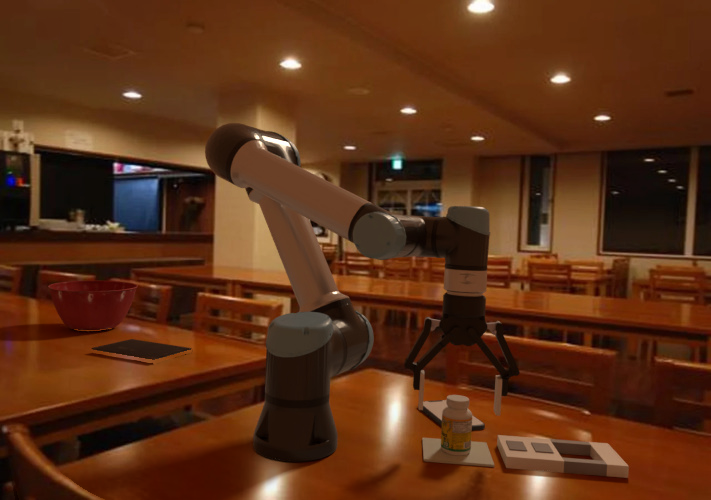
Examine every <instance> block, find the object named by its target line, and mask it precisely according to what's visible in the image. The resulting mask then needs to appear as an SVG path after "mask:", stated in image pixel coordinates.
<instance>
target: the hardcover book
mask: <svg viewBox="0 0 711 500" xmlns="http://www.w3.org/2000/svg"><path fill="white" fill-rule="evenodd" d="M191 349H192V350H193V348H192V347H185V346H179V345H173V344H167V343H160V342H155V341H149V340H140V339H134V338H131V339H125V340H122V341H118V342H113V343H108V344H104V345H98V346H93V347H91V350H92V351H93V350H97V351H103V352H109V353H116V354H122V355H127V356H134V357H139V358H145V359H152V360H155V359H159V358H163V357H167V356H170V355H174V354H177V353H180V352H184V351H187V350H191Z"/></svg>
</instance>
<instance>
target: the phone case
mask: <svg viewBox="0 0 711 500" xmlns="http://www.w3.org/2000/svg"><path fill="white" fill-rule="evenodd" d="M446 401H447V399H438V400H425V401H424V400H423V410H420V411H421V412H423V414H425V415H426V416H427V417H429V418H430V419H431V420H433V421H434V422H435V423H436V424H438V426H440V427H441V428H442V412H443V409H444V408H445V407H447V403H446ZM417 408H418V409H419V407H418V406H417ZM485 429H486V427H485V423H484V422H483V421H482V420H481V419H478V418H477V417H476V416H475V415H473V414H472V431H482V430H485Z"/></svg>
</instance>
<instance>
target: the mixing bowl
mask: <svg viewBox="0 0 711 500" xmlns="http://www.w3.org/2000/svg"><path fill="white" fill-rule="evenodd" d="M138 287H139V285H138V284H136V283H132V282H126V281H117V280H73V281H72V280H70V281H62V282H55V283H51V284H49V285H48V286H47V288H48V289H49V293H50V297H51V300H52V303H53V305H54V307H55V311H56V313H57V315H58V316H59V318H60V320H61V321H62V323H63V324H64V325H65V326H67V328H69V329H71V328H72V329H78V330H100V329H108V328H113V327H114V328H116V327H118V326H119V325H120V324H121V323H122V322H123V321H124V320H125V318H126V316H127V314H128V312H129V311H130V309H131V307H132V304H133V301H134V299H135V295H136V291H137V288H138ZM114 328H113V329H114ZM72 329H71V330H72Z"/></svg>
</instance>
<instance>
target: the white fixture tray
mask: <svg viewBox="0 0 711 500" xmlns="http://www.w3.org/2000/svg"><path fill="white" fill-rule="evenodd" d="M496 442H497V443H496V447H497V449H498V451H499V453H500V456H501V458H502V461H503V464H504V466H505V468H506V469H513V470H514V469H516V470H523V471H524V470H525V471H539V472H550V473H564V474H575V475H584V476H585V475H587V476H598V477H612V478H613V477H614V478H615V477H616V478H623V479H624V478H625V479H628V478H629V470H630V469H629V468H630V466H629V465H628V463H626V461H624V459H623V458H622V457H621V456H620V455H619V453H617V451H616V450H615V449H613V447H612V446H611V445H610V444H609V443H607V442H595V441H584V440H583V441H582V440H581V441H580V440H568V439H553V438H543V437H542V438H541V437H530V436H529V437H527V436H516V435H505V434H503V435H502V434H501V435H500V434H497V441H496ZM561 454H563V455H564V454H565V455H576V456H577V455H578V456H588V457H589V456H590V458H592V459H586V458H573V457H563V456H561Z"/></svg>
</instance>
